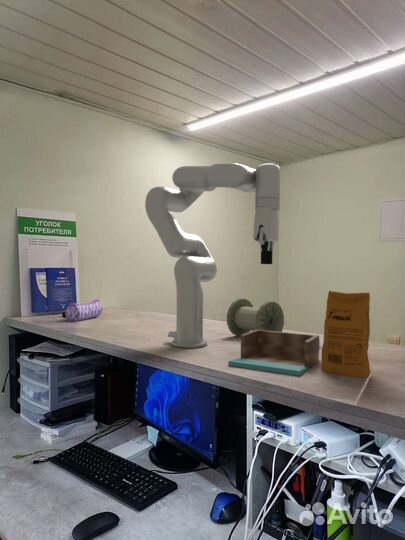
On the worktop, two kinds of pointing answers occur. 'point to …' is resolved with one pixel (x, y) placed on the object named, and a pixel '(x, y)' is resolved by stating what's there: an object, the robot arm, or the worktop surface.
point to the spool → (254, 317)
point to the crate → (280, 347)
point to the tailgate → (268, 366)
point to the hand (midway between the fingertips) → (266, 264)
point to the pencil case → (83, 311)
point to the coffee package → (346, 334)
